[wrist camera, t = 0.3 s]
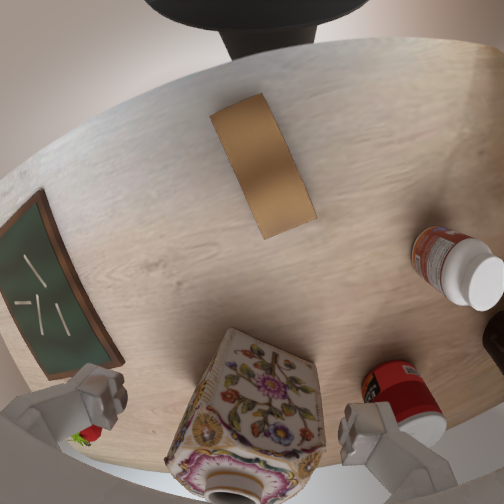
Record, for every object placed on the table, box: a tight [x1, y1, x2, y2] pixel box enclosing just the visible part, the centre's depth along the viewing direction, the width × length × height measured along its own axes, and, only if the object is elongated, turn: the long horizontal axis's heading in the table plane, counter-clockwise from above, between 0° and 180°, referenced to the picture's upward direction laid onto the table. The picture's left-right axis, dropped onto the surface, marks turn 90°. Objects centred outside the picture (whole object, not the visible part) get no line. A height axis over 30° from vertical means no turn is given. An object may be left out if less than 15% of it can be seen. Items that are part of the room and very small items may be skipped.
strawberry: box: [67, 424, 102, 446], centre depth 34 cm, size 6×8×10 cm
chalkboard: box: [0, 190, 125, 381], centre depth 34 cm, size 26×20×1 cm
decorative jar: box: [164, 328, 326, 504], centre depth 25 cm, size 12×12×18 cm
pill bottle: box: [412, 226, 504, 311], centre depth 23 cm, size 6×6×11 cm
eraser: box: [210, 93, 317, 239], centre depth 26 cm, size 12×5×4 cm, turn 24°
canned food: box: [362, 360, 447, 448], centre depth 27 cm, size 8×8×11 cm
